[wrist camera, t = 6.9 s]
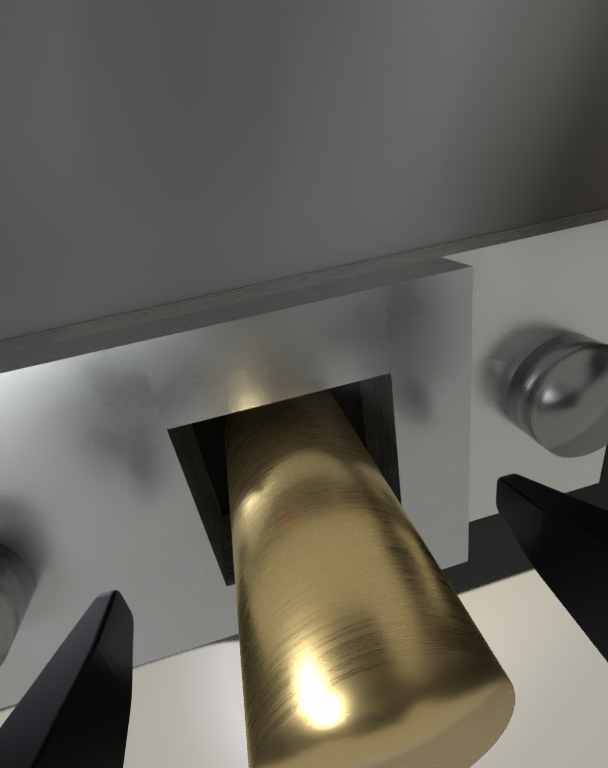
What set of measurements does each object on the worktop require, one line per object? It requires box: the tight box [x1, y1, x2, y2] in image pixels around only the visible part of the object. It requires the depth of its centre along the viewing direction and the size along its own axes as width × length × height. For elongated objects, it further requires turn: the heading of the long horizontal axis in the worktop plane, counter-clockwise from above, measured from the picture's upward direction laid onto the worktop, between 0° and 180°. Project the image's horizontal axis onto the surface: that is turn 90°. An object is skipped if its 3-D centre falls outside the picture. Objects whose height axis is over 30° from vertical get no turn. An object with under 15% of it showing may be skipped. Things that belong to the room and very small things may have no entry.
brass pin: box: [224, 389, 515, 768], centre depth 10 cm, size 4×4×9 cm
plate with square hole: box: [0, 208, 608, 709], centre depth 12 cm, size 23×10×4 cm, turn 100°
